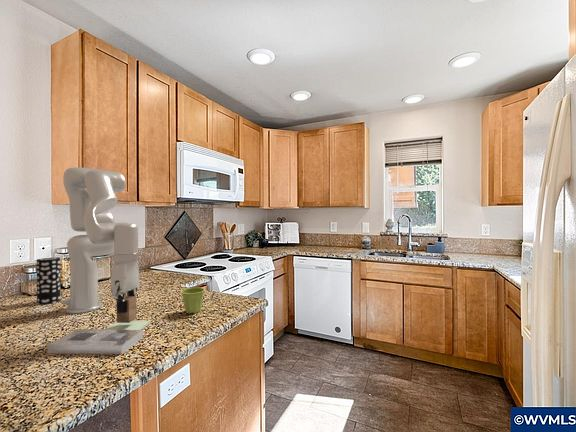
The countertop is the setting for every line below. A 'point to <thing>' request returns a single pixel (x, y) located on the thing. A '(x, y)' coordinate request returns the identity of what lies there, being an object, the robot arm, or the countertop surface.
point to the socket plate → (96, 341)
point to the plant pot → (193, 299)
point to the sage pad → (129, 325)
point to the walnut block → (128, 311)
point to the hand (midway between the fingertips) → (126, 309)
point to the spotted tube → (48, 280)
